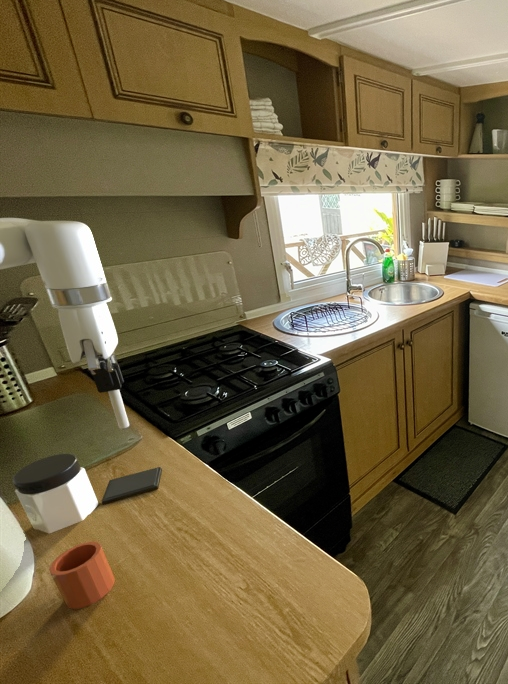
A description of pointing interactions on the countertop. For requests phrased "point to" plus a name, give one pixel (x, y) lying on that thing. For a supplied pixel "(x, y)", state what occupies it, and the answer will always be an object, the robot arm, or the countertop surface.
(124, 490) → the tablet
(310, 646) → the countertop surface
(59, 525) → the jar
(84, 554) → the pen pot
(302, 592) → the countertop surface
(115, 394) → the stylus
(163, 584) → the countertop surface
